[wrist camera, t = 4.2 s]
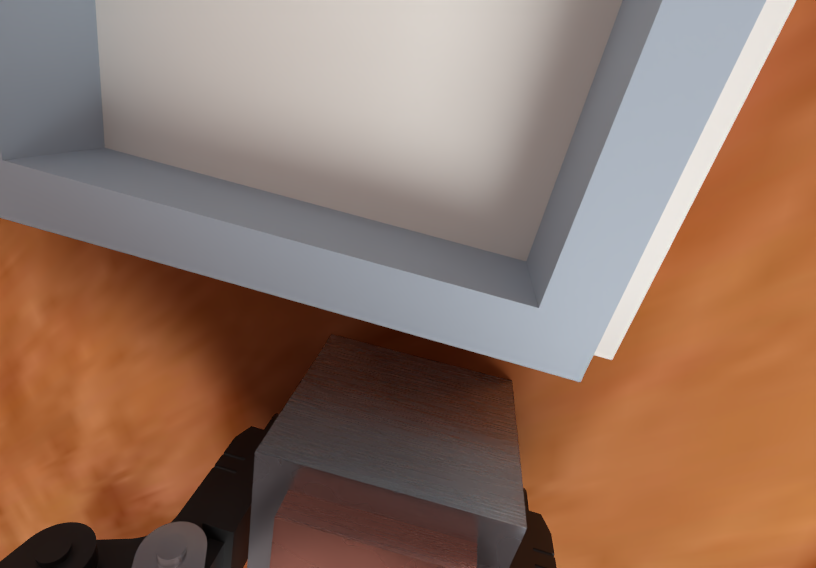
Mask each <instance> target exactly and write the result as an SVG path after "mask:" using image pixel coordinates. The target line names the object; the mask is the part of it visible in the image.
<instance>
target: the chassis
mask: <svg viewBox="0 0 816 568" xmlns="http://www.w3.org/2000/svg"><path fill="white" fill-rule="evenodd" d="M795 2H796V0H0V218H3V219H6V220H10V221H13V222H17V223H20V224H24V225H27V226H31V227H34V228H38V229H42V230H45V231H49V232H52V233H56V234H59V235H63V236H66V237H70V238H73V239H77V240H80V241H84V242H87V243H91V244H94V245H98V246H102V247H105V248H109V249H112V250H116V251H119V252H123V253H126V254H130V255H133V256H137V257H140V258H144V259H147V260H151V261H154V262H158V263H161V264H165V265H169V266H172V267H176V268H179V269H183V270H186V271H190V272H193V273H197V274H200V275H204V276H207V277H211V278H214V279H218V280H221V281H225V282H229V283H232V284H236V285H239V286H243V287H246V288H250V289H253V290H257V291H260V292H264V293H267V294H271V295H274V296H278V297H281V298H285V299H288V300H292V301H296V302H299V303H303V304H306V305H310V306H313V307H317V308H320V309H324V310H327V311H331V312H334V313H338V314H341V315H345V316H348V317H352V318H356V319H359V320H363V321H366V322H370V323H373V324H377V325H380V326H384V327H387V328H391V329H394V330H398V331H401V332H405V333H408V334H412V335H415V336H419V337H423V338H426V339H430V340H433V341H437V342H440V343H444V344H447V345H451V346H454V347H458V348H461V349H465V350H468V351H472V352H475V353H479V354H483V355H486V356H490V357H493V358H497V359H500V360H504V361H507V362H511V363H514V364H518V365H521V366H525V367H528V368H532V369H535V370H539V371H542V372H546V373H550V374H553V375H557V376H560V377H564V378H567V379H571V380H574V381H578V382H581V380H582V378H583V376H584V374H585V371H586V369H587V367H588V365H589V363H590V361H591V359H592V357H593V355H595V356H599V357H603V358H606V359H610V360H612V359H613V357H614V355H615V353H616V352H617V350H618V348H619V346H620V344H621V342H622V340H623V338H624V336H625V334H626V332H627V330H628V328H629V326H630V324H631V322H632V320H633V318H634V316H635V314H636V312H637V311H638V309H639V307H640V305H641V303H642V301H643V299H644V297H645V295H646V293H647V291H648V289H649V287H650V285H651V283H652V281H653V279H654V277H655V275H656V273H657V271H658V269H659V268H660V266H661V264H662V262H663V260H664V258H665V256H666V254H667V252H668V250H669V248H670V246H671V244H672V242H673V240H674V238H675V236H676V234H677V232H678V230H679V228H680V226H681V225H682V223H683V221H684V219H685V217H686V215H687V213H688V211H689V209H690V207H691V205H692V203H693V201H694V199H695V197H696V195H697V193H698V191H699V189H700V187H701V185H702V184H703V182H704V180H705V178H706V176H707V174H708V172H709V170H710V168H711V166H712V164H713V162H714V160H715V158H716V156H717V154H718V152H719V150H720V148H721V146H722V144H723V142H724V141H725V139H726V137H727V135H728V133H729V131H730V129H731V127H732V125H733V123H734V121H735V119H736V117H737V115H738V113H739V111H740V109H741V107H742V105H743V103H744V101H745V100H746V98H747V96H748V94H749V92H750V90H751V88H752V86H753V84H754V82H755V80H756V78H757V76H758V74H759V72H760V70H761V68H762V66H763V64H764V62H765V60H766V58H767V57H768V55H769V53H770V51H771V49H772V47H773V45H774V43H775V41H776V39H777V37H778V35H779V33H780V31H781V29H782V27H783V25H784V23H785V21H786V19H787V17H788V15H789V14H790V12H791V10H792V8H793V6H794V4H795Z"/></svg>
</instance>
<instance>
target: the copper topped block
mask: <svg viewBox="0 0 816 568" xmlns="http://www.w3.org/2000/svg"><path fill="white" fill-rule="evenodd" d="M526 530H527V523H526V513H525V503H524V493H523V484H522V474H521V464H520V454H519V445H518V435H517V425H516V415H515V406H514V396H513V386H512V381H510V380H507V379H503V378H499V377H495V376H491V375H487V374H483V373H480V372H476V371H472V370H468V369H464V368H460V367H456V366H453V365H449V364H445V363H441V362H437V361H433V360H429V359H425V358H422V357H418V356H414V355H410V354H406V353H402V352H398V351H395V350H391V349H387V348H383V347H379V346H375V345H371V344H367V343H364V342H360V341H356V340H352V339H348V338H344V337H340V336H337V335H333V334H331V336H330V338H329V339H328V341H327V342H326V344H325V345H324V347H323V348H322V350H321V351H320V353H319V354H318V356H317V357H316V359H315V361H314V362H313V364H312V365H311V367H310V368H309V370H308V371H307V373H306V374H305V376H304V377H303V379H302V380H301V382H300V384H299V385H298V387H297V388H296V390H295V391H294V393H293V394H292V396H291V397H290V399H289V400H288V402H287V403H286V405H285V407H284V408H283V410H282V411H281V413H280V414H279V416H278V417H277V419H276V420H275V422H274V423H273V425H272V427H271V428H270V430H269V431H268V433H267V434H266V436H265V437H264V439H263V440H262V442H261V443H260V445H259V446H258V448H257V450H256V451H255V458H254V474H253V489H252V504H251V519H250V535H249V550H248V565H247V568H509V567H510V565H511V562H512V560H513V558H514V556H515V554H516V552H517V549H518V547H519V545H520V543H521V541H522V539H523V536H524V534H525V532H526Z"/></svg>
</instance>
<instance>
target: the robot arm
mask: <svg viewBox="0 0 816 568" xmlns="http://www.w3.org/2000/svg"><path fill="white" fill-rule="evenodd" d="M278 416H279V414H275V415H274V416H273V417H272V419H271V420H270V422H269V423H268V425H267V426H266V428H265V429H264V430H262V429H259V428H256V427H252V426H251V427H250V428H248V429H247V430H245V431H244V432H242V433H241V434H239V435H238V436H236V437H235V438H234V440H233V441H232V442H231V444H230V445H229V446H228V448H227V449H226V450H225V452H224V454H223V455H222V456H221V457H220V459H219V460H218V461H217V463H216V464H215V467H214V468H212V469H211V471H210V472H209V474H208V475H207V476H206V478H205V479H204V480H203V482H202V483H201V484H200V486H199V487H198V489H197V490H196V491H195V493H194V494H193V495H192V497H191V498H190V499H189V501H188V502H187V503H186V505H185V506H184V508H183V509H182V510H181V512H180V513H179V514H178V515H177V517H176V518H175V519H174V520H173V521H172V522H171V523H169V524H166V525H163V526H161V527H159V528H157V529H156V530H154V531H153V532H151V533H150V534H149V535H148V536H145V537H140V538H134V539H110V540H96V536H95V533H94V531H93V530H92V529H91V528H90V527H88V526H87V525H84V524H81V523H75V522H69V523H62V524H57V525H54V526H51V527H49V528H46V529H44V530H42V531H40V532H39V533H37V534H35V535H34V536H32V537H31V538H30V539H28V540H27V541H26V542H24V543H23V544H22V545H21V546H19V547H18V548H17V549H16V550H14V551H13V552H12V553H11V554H9V555H8V556H7V557H5V558H4V559H3V560H2V561H0V568H243V567H244V565H245V563H246V561H247V559H248V550H249V535H250V519H251V504H252V489H253V474H254V458H255V451H256V450H257V448H258V446H259V445H260V443H261V442H262V440H263V439H264V437H265V436H266V434H267V433H268V431H269V430H270V428H271V427H272V425H273V423H274V422H275V420H276V419H277V417H278ZM523 493H524V503H525V513H526V523H527V530H526V532H525V534H524V536H523V539H522V541H521V543H520V545H519V547H518V549H517V552H516V554H515V556H514V558H513V560H512V562H511V565H510V567H509V568H556V562H555V558H554V549H553V543H552V537H551V533H550V531H549V529H548V527H547V525H546V523H545V521H544V519H543V518H542V516H541V514H538V513H535V512H531V511H529V509H528V500H527V492H526V490H525V488H523Z"/></svg>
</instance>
